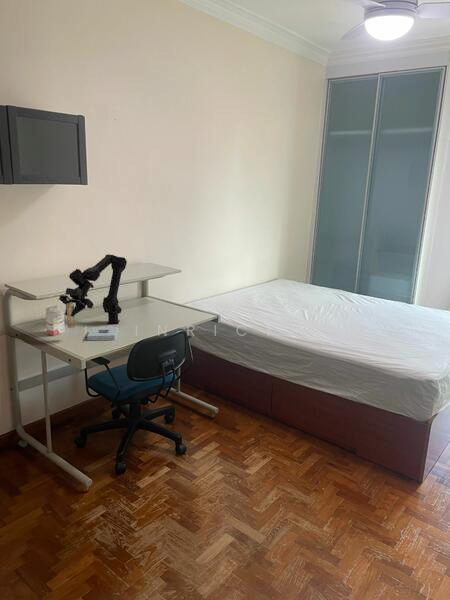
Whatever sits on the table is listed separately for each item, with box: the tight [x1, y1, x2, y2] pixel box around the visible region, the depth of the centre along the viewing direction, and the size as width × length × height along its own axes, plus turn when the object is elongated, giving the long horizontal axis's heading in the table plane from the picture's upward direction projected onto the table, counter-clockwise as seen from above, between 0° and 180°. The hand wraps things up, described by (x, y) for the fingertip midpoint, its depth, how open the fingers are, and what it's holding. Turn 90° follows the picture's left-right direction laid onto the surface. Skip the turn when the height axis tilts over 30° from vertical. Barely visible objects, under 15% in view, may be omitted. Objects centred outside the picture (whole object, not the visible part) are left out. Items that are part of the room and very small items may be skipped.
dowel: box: [65, 303, 76, 329], centre depth 228 cm, size 4×4×12 cm
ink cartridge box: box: [45, 304, 66, 337], centre depth 239 cm, size 9×5×15 cm, turn 157°
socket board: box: [86, 326, 119, 341], centre depth 238 cm, size 14×14×2 cm
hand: (68, 315), depth 227 cm, fingers closed on dowel, 4 cm apart
